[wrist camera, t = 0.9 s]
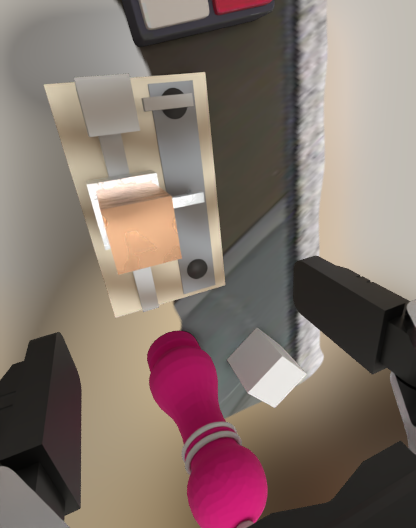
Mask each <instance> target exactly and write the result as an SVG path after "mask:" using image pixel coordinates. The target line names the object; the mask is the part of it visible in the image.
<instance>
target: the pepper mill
mask: <svg viewBox="0 0 416 528" xmlns="http://www.w3.org/2000/svg"><path fill="white" fill-rule="evenodd" d="M147 361H148V364H149V368H150V371H151V374H150V378H149V385H150V390H151V393H152V395H153V398H154V400H155V401H156V403H157V404H158V405H159V407H160V408H161V409H162V410H163V411H164V412H165V413H166V414H168V415H169V416H170V417H171V418H172V419H173V420H174V421H175V423H176V424H177V426H178V428H179V431H180V433H181V436H182V438H183V442H184V446H183V449H182V459H183V461H184V462H185V469H186V471H187V473H188V474H189V475H190V477H189V481H188V485H187V496H188V502H189V506H190V508H191V511H192V513H193V516H194V518H195V520H196V521H197V523H198V524H199V525H200V527H201V528H247V527H249V526H250V525H252V524H254V523H255V522H256V521H257V520H258V518H259V517H260V515H261V513H262V512H263V509H264V507H265V503H266V499H267V481H266V476H265V473H264V470H263V468H262V465H261V463H260V461H259V460H258V458H257V457H256V455H255V454H253V453H252V452H251V451H250V450H249V449H247V448H245V447H243V446H242V441H241V438H240V437H239V435H238V434H237V431H236V428H235V427H234V426H233V425H232V424H230V423H228V422H226V421H225V419H224V418H223V415H222V413H221V411H220V408H219V403H218V379H217V373H216V369H215V366H214V364H213V361H212V359H211V357H210V356H209V355H208V354H207V353H206V352H205V351H203V350H201V348H200V346H199V344H198V343H197V341H196V339H195V338H194V336H192V335H191V334H190V333H188V332H184V331H172V332H168V333H166V334H164V335H162V336H160V337H159V338H158V339H157V340H155V341H154V343H153V344H152V345H151V346H150V349H149V351H148V354H147Z"/></svg>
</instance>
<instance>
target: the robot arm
mask: <svg viewBox="0 0 416 528" xmlns="http://www.w3.org/2000/svg"><path fill="white" fill-rule="evenodd" d="M293 301H294V304H295V307H296V309H297V310H298V312H299V313H300V314H301V315H303V316H304V317H305V318H306V319H307V320H308V321H310V322H311V323H312V324H313V325H314V326H316V327H317V328H318V329H319V330H320V331H322V332H323V333H324V334H325V335H326V336H327V337H329V338H330V339H331V340H332V341H333V342H335V343H336V344H337V345H338V346H339V347H340V348H342V349H343V350H344V351H345V352H346V353H348V354H349V355H350V356H351V357H352V358H353V359H355V360H356V361H357V362H358V363H359V364H361V365H362V366H363V367H364V368H366V369H367V370H368V371H369V372H370V373H371V374H374V373H377V372H379V371H381V370H383V369H385V368H388V369H389V370H391V375H390V381H391V385H392V388H393V391H394V394H395V397H396V401H397V404H398V407H399V410H400V414H401V416H402V420H403V423H404V426H405V430H406V433H407V437H408V444H409V448H407V447H406V445H405V444H403V442H401V441H399V442H397V443H395V444H394V445H392V446H390V447H388V448H387V449H385V450H383V451H381V452H380V453H378V454H376V455H374V456H372V457H371V458H369V459H367V460H365V461H363V462H362V463H361V465H360V466H359V467H358V469H357V470H356V471H355V472H354V474H353V475H352V476H351V477H350V478H349V480H348V481H347V482H346V483H345V485H344V486H343V487H342V488H341V489H340V491H339V492H338V493H337V494H336V496H335V497H334V498H333V499H332V500H331V501H329V502H327V503H324V504H318V505H313V506H307V507H303V508H297V509H292V510H287V511H281V512H276V513H272V514H270V515H268V516H266V517H264V518H263V519H261V520H259V521H257V522H256V523H254V524H252V525H250V526H249V527H247V528H416V299H415V300H412V301H408V300H407V299H404V298H402V297H401V296H399V295H397V294H395V293H393V292H391V291H389V290H387V289H386V288H384V287H382V286H380V285H378V284H376V283H374V282H370V280H368V279H366V278H365V277H360V275H359V274H357V273H355V272H353V271H351V270H349V269H347V268H343V267H340V266H336V265H334V264H332V263H330V262H328V261H326V260H324V259H322V258H321V257H319V256H313V257H309V258H306V259H303V260H299V261H297V262H296V263H295V265H294V279H293ZM80 494H81V383H80V378H79V375H78V371H77V369H76V366H75V364H74V362H73V360H72V357H71V355H70V352H69V350H68V348H67V345H66V343H65V341H64V339H63V336H62V335H61V333H60V332H57V333H54V334H50V335H47V336H43V337H40V338H37V339H34V340H31V341H30V342H29V344H28V348H27V352H26V356H25V360H24V361H22V362H19V363H16V364H13V365H12V366H11V367H10V369H9V370H8V371H7V372H6V374H5V375H4V376H3V378H2V379H1V380H0V528H70V527H69V526H68V525H67V524H66V523H65V522H64V516H65V515H67V514H70V513H72V512H74V511H76V510H78V509H80V503H81V495H80Z"/></svg>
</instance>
